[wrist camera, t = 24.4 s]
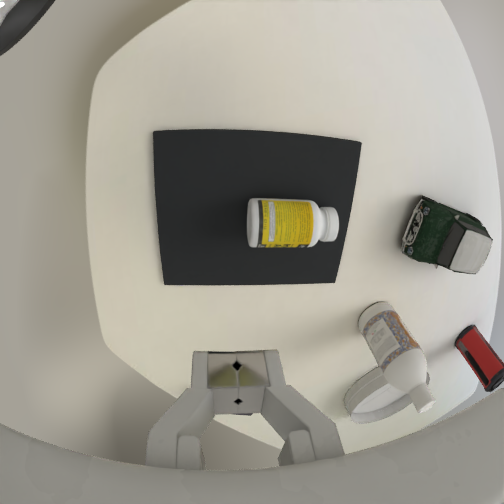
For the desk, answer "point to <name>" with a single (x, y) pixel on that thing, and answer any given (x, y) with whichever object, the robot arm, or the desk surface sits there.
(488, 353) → the speaker
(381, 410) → the dish
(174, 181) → the mat
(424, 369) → the bath foam
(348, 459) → the robot arm
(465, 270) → the miniature car
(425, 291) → the desk surface
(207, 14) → the desk surface
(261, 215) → the supplement bottle
